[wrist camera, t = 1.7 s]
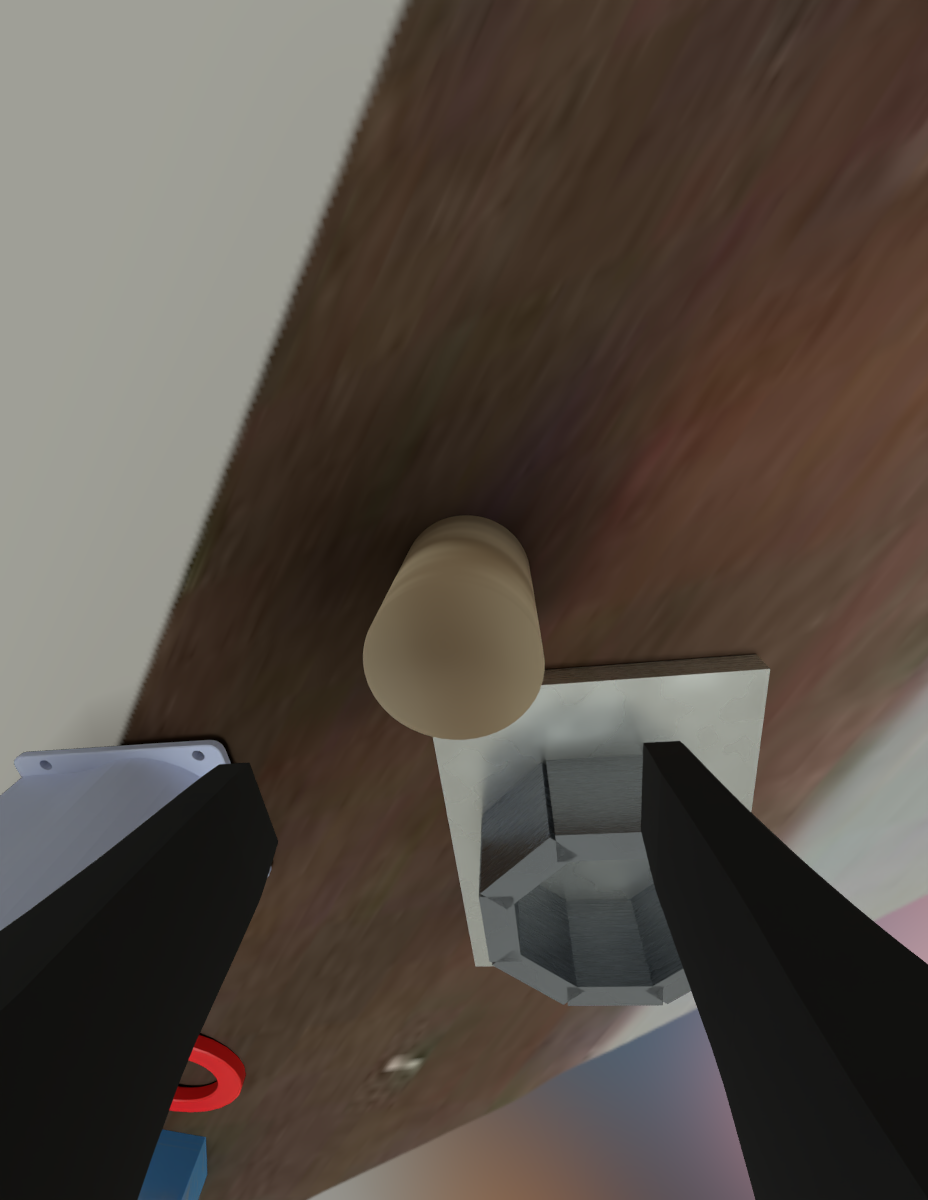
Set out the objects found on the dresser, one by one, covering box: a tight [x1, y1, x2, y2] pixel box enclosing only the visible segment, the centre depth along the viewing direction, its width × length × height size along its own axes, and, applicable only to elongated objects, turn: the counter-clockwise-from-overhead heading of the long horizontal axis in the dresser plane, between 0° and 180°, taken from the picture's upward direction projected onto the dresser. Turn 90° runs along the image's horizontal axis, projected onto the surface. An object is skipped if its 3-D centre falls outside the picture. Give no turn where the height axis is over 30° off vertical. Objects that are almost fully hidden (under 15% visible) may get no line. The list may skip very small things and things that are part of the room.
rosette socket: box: [433, 654, 770, 1006], centre depth 20 cm, size 12×16×4 cm
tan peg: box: [363, 515, 545, 740], centre depth 15 cm, size 4×4×6 cm
